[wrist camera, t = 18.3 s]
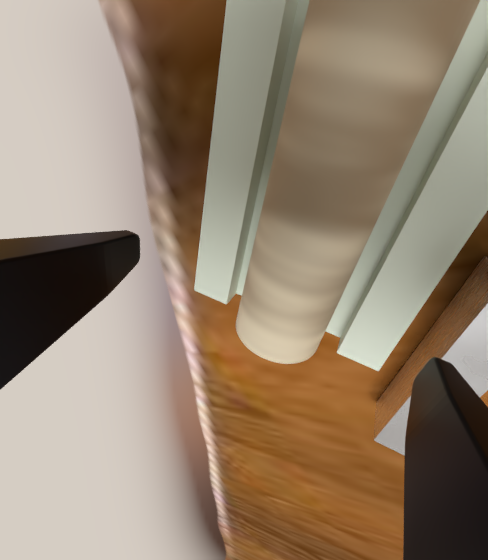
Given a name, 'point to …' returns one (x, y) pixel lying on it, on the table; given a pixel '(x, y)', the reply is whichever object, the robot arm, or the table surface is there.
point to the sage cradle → (400, 203)
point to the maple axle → (340, 157)
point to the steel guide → (441, 356)
